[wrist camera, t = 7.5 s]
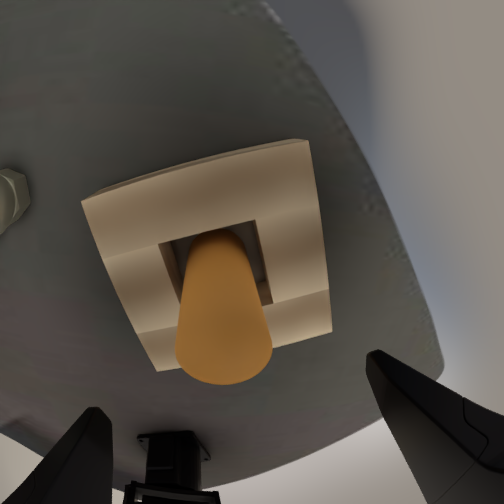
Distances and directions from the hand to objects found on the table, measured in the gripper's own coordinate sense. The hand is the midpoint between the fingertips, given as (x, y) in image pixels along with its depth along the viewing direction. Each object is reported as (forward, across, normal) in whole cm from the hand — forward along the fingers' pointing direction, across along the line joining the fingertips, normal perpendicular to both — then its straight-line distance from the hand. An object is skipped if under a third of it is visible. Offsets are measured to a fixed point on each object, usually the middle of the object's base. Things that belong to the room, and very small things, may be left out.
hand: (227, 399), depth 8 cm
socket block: (+12, 0, 0) cm, 12 cm away
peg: (+11, 0, 0) cm, 11 cm away
